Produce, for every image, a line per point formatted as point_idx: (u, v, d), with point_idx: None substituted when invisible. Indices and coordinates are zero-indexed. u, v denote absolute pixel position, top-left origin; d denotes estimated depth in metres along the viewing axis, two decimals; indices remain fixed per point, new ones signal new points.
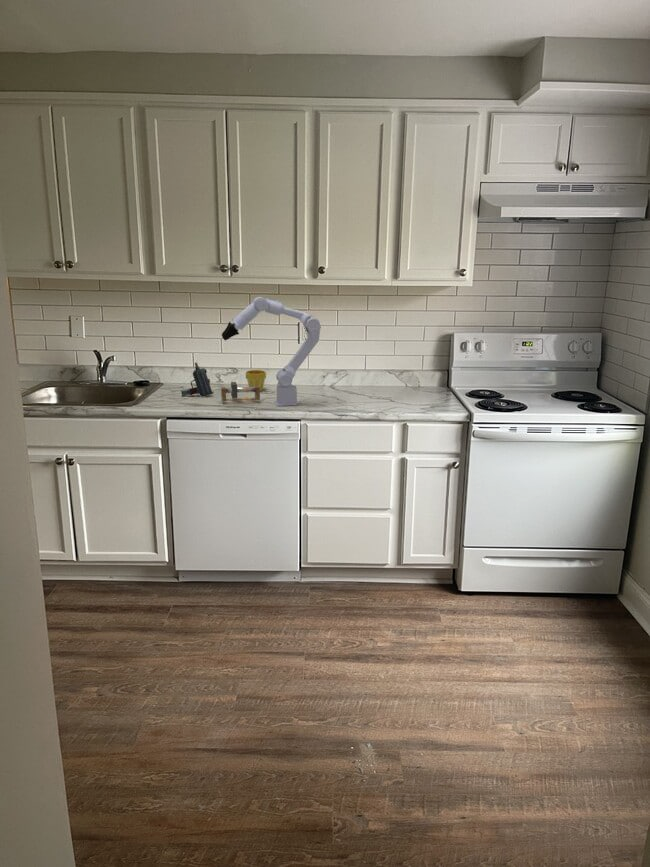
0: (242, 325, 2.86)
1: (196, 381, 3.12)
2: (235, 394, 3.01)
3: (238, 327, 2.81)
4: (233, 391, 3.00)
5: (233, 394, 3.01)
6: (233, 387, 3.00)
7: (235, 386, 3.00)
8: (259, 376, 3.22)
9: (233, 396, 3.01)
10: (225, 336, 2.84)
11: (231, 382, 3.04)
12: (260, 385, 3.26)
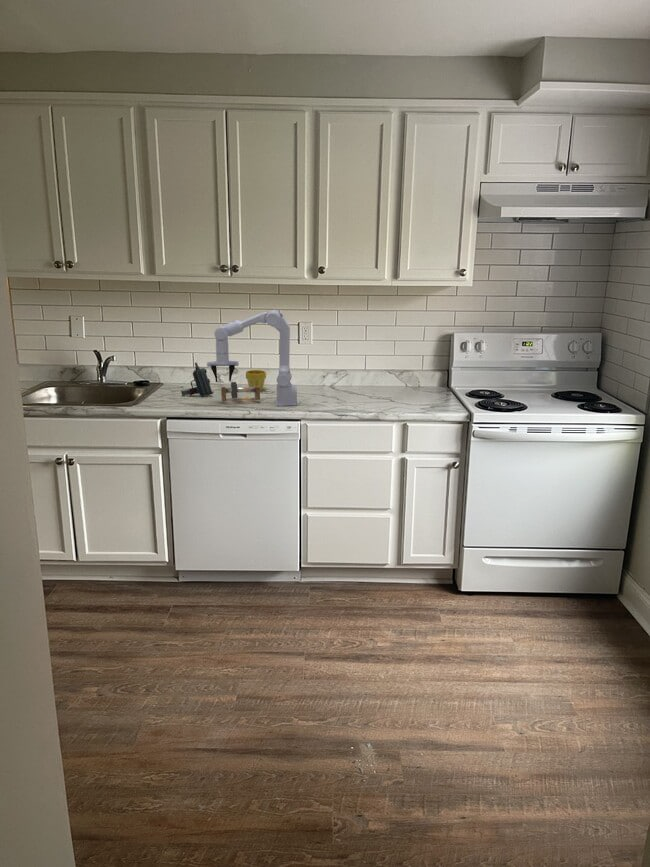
0: (217, 360, 2.96)
1: (196, 381, 3.12)
2: (235, 394, 3.01)
3: (207, 364, 2.97)
4: (233, 391, 3.00)
5: (233, 394, 3.01)
6: (233, 387, 3.00)
7: (235, 386, 3.00)
8: (259, 376, 3.22)
9: (233, 396, 3.01)
10: (215, 378, 3.00)
11: (231, 382, 3.04)
12: (260, 385, 3.26)
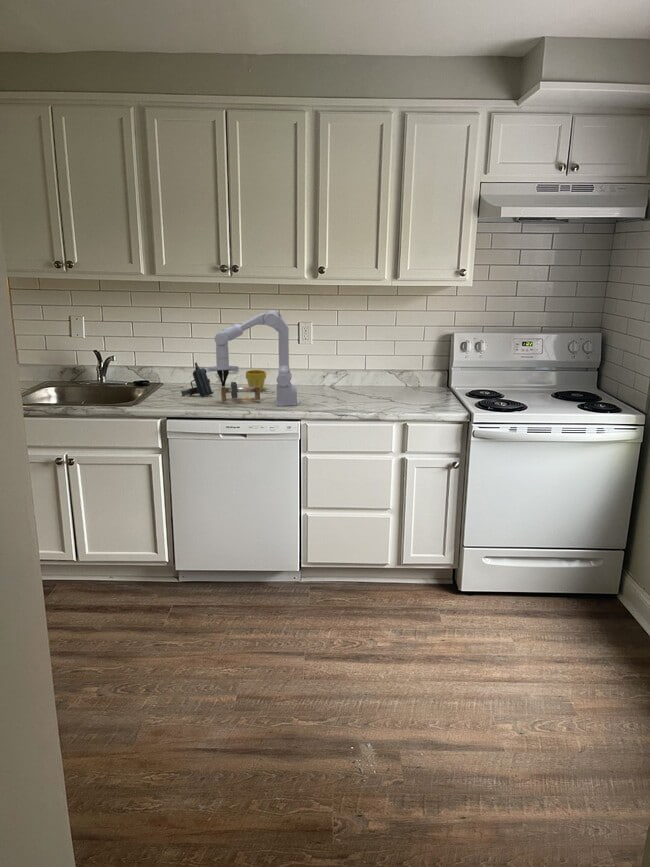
0: (217, 365, 2.97)
1: (196, 381, 3.12)
2: (235, 394, 3.01)
3: (207, 369, 2.97)
4: (233, 391, 3.00)
5: (233, 394, 3.01)
6: (233, 387, 3.00)
7: (235, 386, 3.00)
8: (259, 376, 3.22)
9: (233, 396, 3.01)
10: (221, 383, 3.01)
11: (231, 382, 3.04)
12: (260, 385, 3.26)
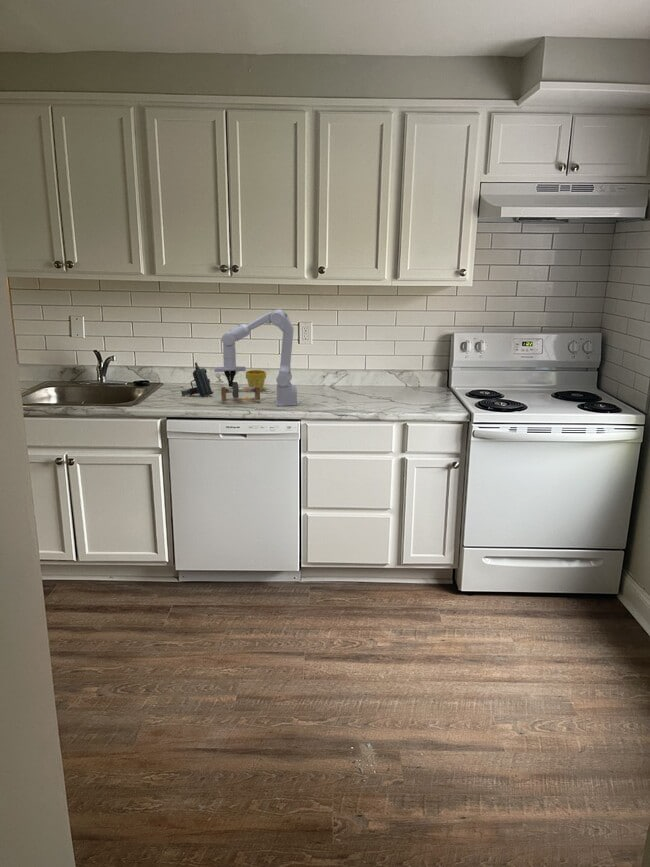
0: (224, 365, 2.97)
1: (196, 381, 3.12)
2: (236, 394, 3.01)
3: (214, 369, 2.98)
4: (234, 391, 3.00)
5: (234, 394, 3.01)
6: (234, 387, 3.00)
7: (236, 386, 3.00)
8: (259, 376, 3.22)
9: (234, 396, 3.01)
10: None
11: None
12: (260, 385, 3.26)
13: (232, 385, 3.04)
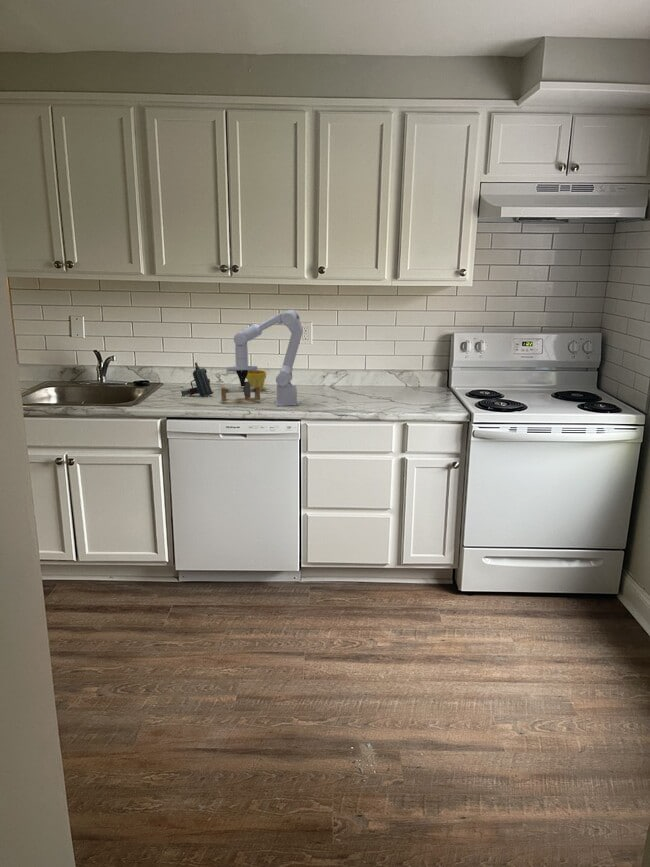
0: (236, 365, 2.99)
1: (196, 381, 3.12)
2: (248, 394, 3.02)
3: (226, 369, 2.99)
4: (246, 391, 3.01)
5: (246, 394, 3.02)
6: (246, 387, 3.01)
7: (248, 386, 3.01)
8: (259, 376, 3.22)
9: (246, 396, 3.02)
10: (240, 383, 3.03)
11: (244, 382, 3.05)
12: (260, 385, 3.26)
13: (244, 385, 3.05)
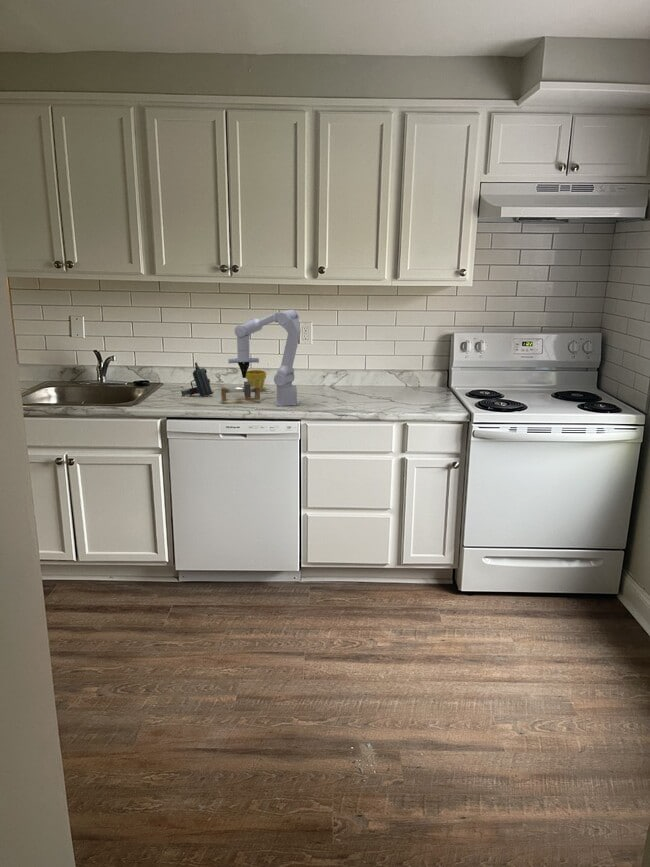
0: (238, 357, 3.04)
1: (196, 381, 3.12)
2: (248, 394, 3.02)
3: (228, 360, 3.05)
4: (246, 391, 3.01)
5: (246, 394, 3.02)
6: (246, 387, 3.01)
7: (248, 386, 3.01)
8: (259, 376, 3.22)
9: (246, 396, 3.02)
10: (242, 374, 3.09)
11: (244, 382, 3.05)
12: (260, 385, 3.26)
13: (244, 385, 3.05)
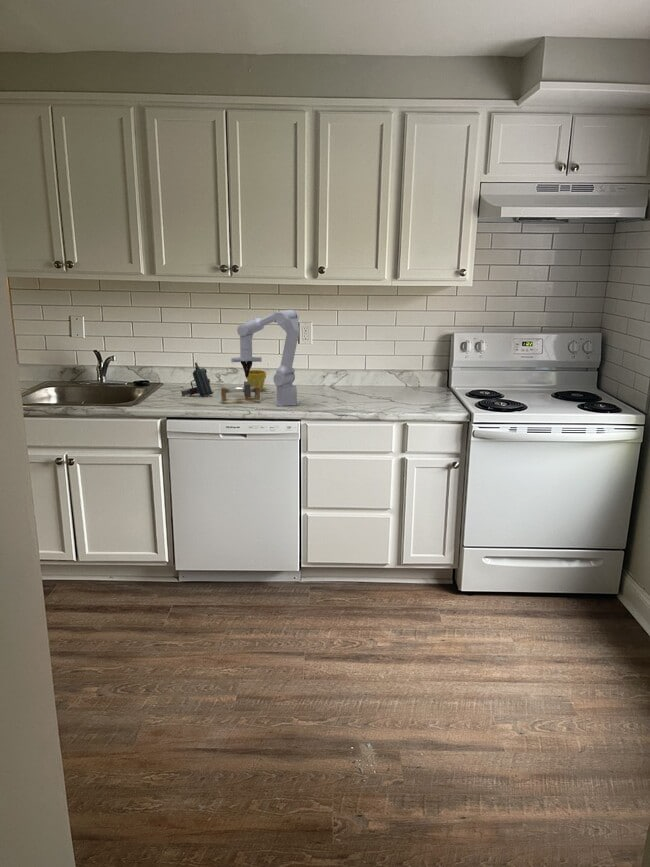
0: (241, 356, 3.07)
1: (196, 381, 3.12)
2: (248, 394, 3.02)
3: (231, 359, 3.08)
4: (246, 391, 3.01)
5: (246, 394, 3.02)
6: (246, 387, 3.01)
7: (248, 386, 3.01)
8: (259, 376, 3.22)
9: (246, 396, 3.02)
10: (245, 373, 3.11)
11: (244, 382, 3.05)
12: (260, 385, 3.26)
13: (244, 385, 3.05)
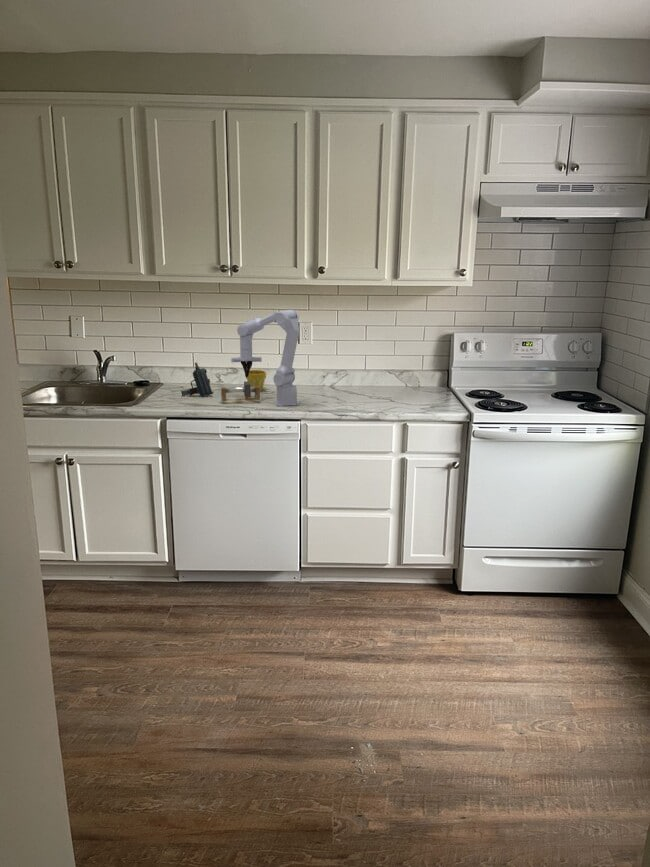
0: (241, 356, 3.07)
1: (196, 381, 3.12)
2: (248, 394, 3.02)
3: (231, 359, 3.08)
4: (246, 391, 3.01)
5: (246, 394, 3.02)
6: (246, 387, 3.01)
7: (248, 386, 3.01)
8: (259, 376, 3.22)
9: (246, 396, 3.02)
10: (245, 373, 3.11)
11: (244, 382, 3.05)
12: (260, 385, 3.26)
13: (244, 385, 3.05)
